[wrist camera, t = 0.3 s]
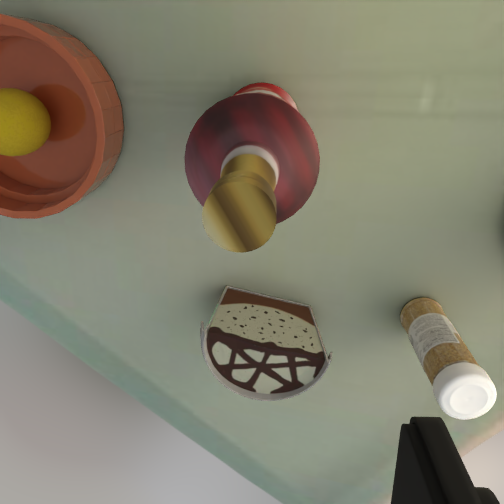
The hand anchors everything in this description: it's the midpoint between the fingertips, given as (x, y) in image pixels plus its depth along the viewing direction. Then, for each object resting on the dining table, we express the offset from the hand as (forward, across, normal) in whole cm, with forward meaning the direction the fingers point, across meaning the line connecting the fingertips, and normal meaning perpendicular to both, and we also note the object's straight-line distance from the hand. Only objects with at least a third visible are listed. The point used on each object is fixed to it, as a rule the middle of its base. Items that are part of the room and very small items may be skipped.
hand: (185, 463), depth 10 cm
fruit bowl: (+36, +20, -4) cm, 42 cm away
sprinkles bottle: (+36, -17, +17) cm, 44 cm away
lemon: (+36, +20, -4) cm, 42 cm away
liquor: (+36, -1, -3) cm, 37 cm away
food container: (+36, 0, +18) cm, 41 cm away
